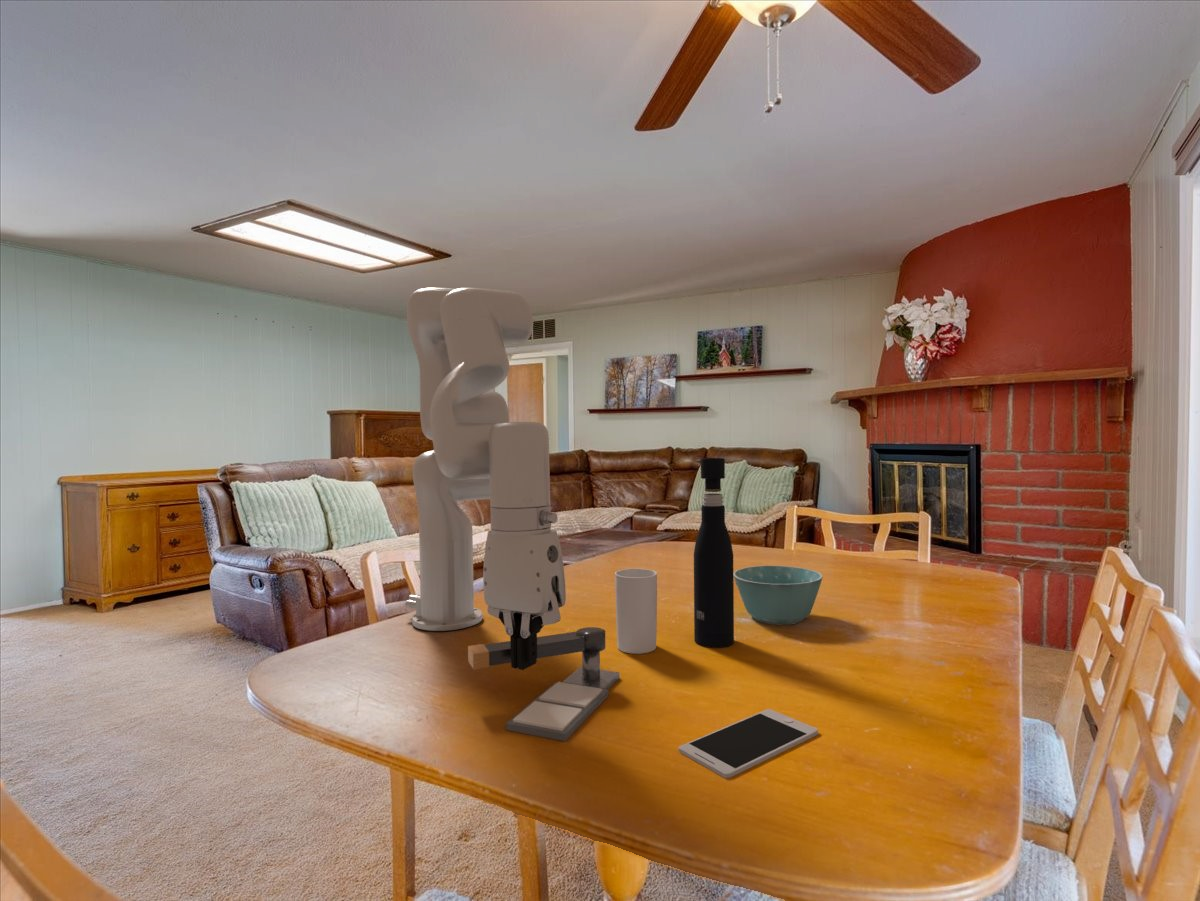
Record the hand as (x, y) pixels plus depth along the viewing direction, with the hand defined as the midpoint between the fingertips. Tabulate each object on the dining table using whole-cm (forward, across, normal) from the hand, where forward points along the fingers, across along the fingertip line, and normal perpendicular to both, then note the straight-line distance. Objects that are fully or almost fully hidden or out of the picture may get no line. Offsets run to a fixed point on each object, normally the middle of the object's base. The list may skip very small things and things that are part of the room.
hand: (524, 665), depth 80 cm
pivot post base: (+5, -3, -11) cm, 12 cm away
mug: (+5, -1, -27) cm, 28 cm away
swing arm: (0, +1, -5) cm, 5 cm away
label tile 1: (+5, -5, +2) cm, 8 cm away
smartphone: (+6, -27, -5) cm, 28 cm away
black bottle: (+5, -12, -35) cm, 37 cm away
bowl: (+5, -17, -53) cm, 56 cm away
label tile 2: (+5, -4, -4) cm, 8 cm away
